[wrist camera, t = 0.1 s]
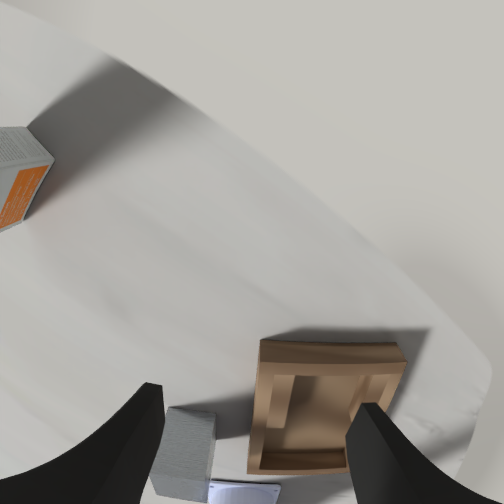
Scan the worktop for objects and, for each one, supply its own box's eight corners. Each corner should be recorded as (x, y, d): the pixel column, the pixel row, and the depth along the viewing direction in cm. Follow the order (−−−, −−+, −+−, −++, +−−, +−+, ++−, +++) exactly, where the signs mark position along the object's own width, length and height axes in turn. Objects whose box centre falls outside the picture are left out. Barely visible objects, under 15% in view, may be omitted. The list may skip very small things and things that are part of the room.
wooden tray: (349, 453, 25) (353, 471, 23) (247, 454, 25) (246, 473, 23) (396, 342, 21) (407, 362, 18) (260, 339, 21) (259, 361, 18)
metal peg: (216, 439, 25) (206, 503, 18) (173, 434, 25) (156, 494, 18) (215, 413, 23) (204, 481, 17) (168, 406, 23) (147, 472, 17)
